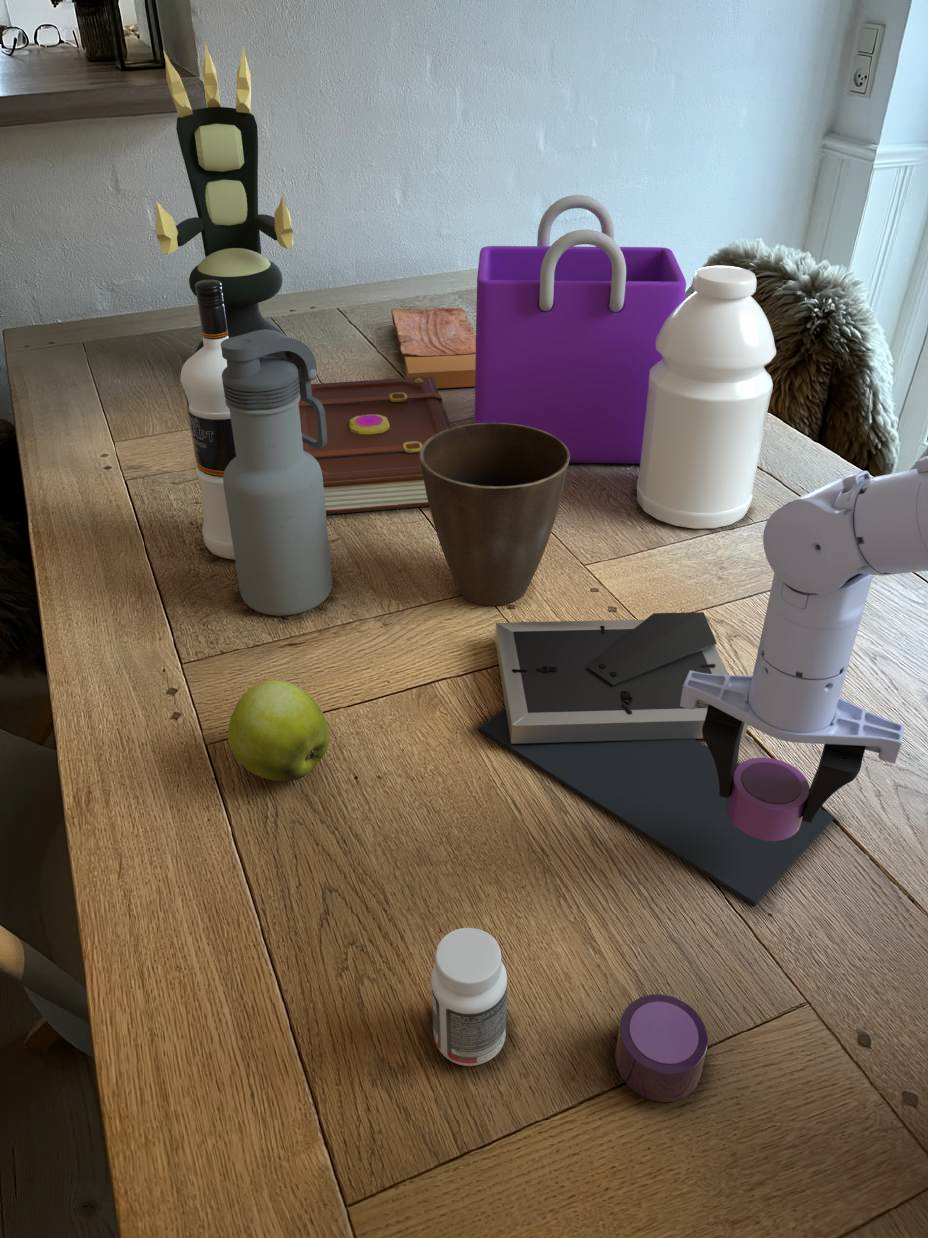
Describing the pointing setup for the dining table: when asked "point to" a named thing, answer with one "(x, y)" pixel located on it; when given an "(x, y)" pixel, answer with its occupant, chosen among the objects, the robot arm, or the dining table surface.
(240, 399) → the water bottle
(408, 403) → the book
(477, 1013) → the pill bottle
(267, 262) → the throne chair
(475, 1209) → the dining table surface
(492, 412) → the shopping bag
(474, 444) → the plant pot
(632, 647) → the picture frame
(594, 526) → the dining table surface
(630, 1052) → the aubergine dish
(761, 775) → the plum dish
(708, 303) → the bottle
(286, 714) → the apple
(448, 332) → the wooden flat board
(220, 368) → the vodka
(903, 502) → the robot arm
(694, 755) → the placemat
